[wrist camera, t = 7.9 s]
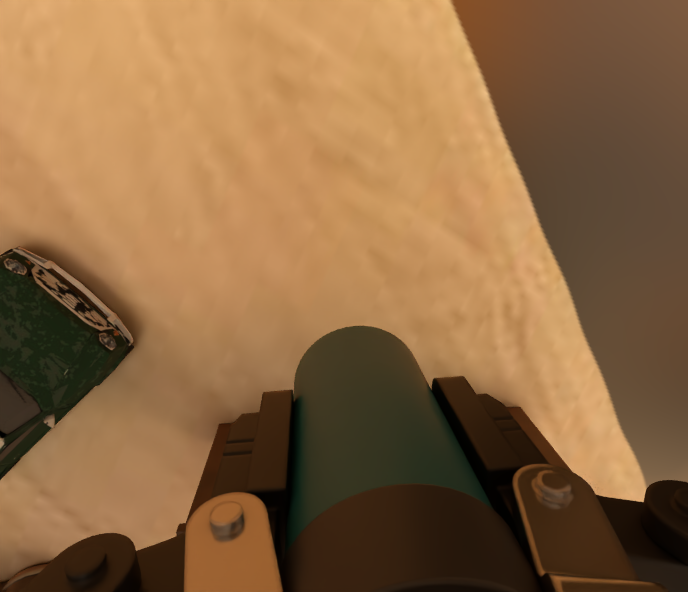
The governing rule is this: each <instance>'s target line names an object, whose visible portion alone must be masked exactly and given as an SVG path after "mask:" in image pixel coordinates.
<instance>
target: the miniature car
mask: <svg viewBox="0 0 688 592" xmlns="http://www.w3.org/2000/svg"><path fill="white" fill-rule="evenodd" d="M50 268H53V269H54V270H55V271H56V272H58V273H59V274H60V275H61V276H63V277H64V278H65V279H66V280H68V281H69V282H70V283H72V284H73V285H74V286H75V287H77V288H78V289H79V290H80V291H82V292H83V293H84V294H85V295H86V296H87V297H88V298H89V299H90V300H91V301H92V302H93V303H94V304H95V305H96V306H97V307H98V308H100V309H101V310H102V311H103V312H104V313H105V314H106V315H107V316H108V317H109V318H106V317H105V316H103V315H102V314H101V313H100V312H99V311H97V310H96V309H95V308H94V307H92V306H91V305H90V304H89V303H88V302H86V301H85V300H84V299H83V298H82V297H80V296H79V295H78V294H77V293H75V292H74V291H73V290H72V289H71V288H69V287H68V286H67V285H66V284H65V283H63V282H62V281H61V280H60V279H58V278H57V277H56V276H55V275H54V274H52V273H51V272H50V271H49V270H47V269H50ZM132 342H133V338H132V336H131V334H130V332H129V331H128V330H127V328H126V327H125V326H124V324H123V323H122V321H121V320H120V319H119V317H118V316H117V315H116V313H113V312H112V311H111V310H110V309H109V308H108V307H107V306H106V305H104V304H103V303H102V302H101V301H100V300H99V299H98V298H97V297H96V296H95V295H94V294H93V293H91V292H90V291H89V290H88V289H87V288H86V287H85V286H84V285H83V284H82V283H80V282H79V281H77V280H76V279H75V278H73V277H72V276H71V275H69V274H68V273H67V272H65V271H64V270H62V269H61V268H60V267H58V266H57V265H56V264H55V263H54V262H53V261H48V260H46V259H44V258H42V257H40V256H38V255H36V254H34V253H32V252H30V251H28V250H26V249H24V248H22V247H20V246H19V247H17V248H15V249H10V250H8V251H7V252H5V253H3V254H1V255H0V480H1V479H2V478H3V477H4V476H5V475H6V474H7V473H8V472H9V471H10V470H11V468H12V467H13V466H14V465H15V464H16V463H17V462H18V461H19V460H20V458H21V457H22V456H23V455H24V454H26V453H27V452H28V451H29V450H30V449H31V448H32V447H33V446H34V445H35V444H36V443H37V442H38V441H39V440H40V439H41V438H42V437H43V436H44V435H45V434H46V433H47V432H48V431H49V430H50V429H51V428H53V427H54V425H55V424H57V423H58V422H59V421H60V420H61V419H62V418H63V417H64V416H65V415H66V414H67V413H68V412H69V411H70V410H71V409H72V408H73V407H74V406H75V405H76V404H77V403H78V402H79V401H80V400H81V399H82V398H83V397H84V396H85V395H86V394H88V393H89V392H90V391H91V390H92V389H93V388H94V387H95V386H98V385H100V384H101V383H102V382H103V381H104V380H105V379H106V378H107V377H108V376H109V375H110V374H111V373H112V372H113V371H114V370H115V368H116V367H117V366H118V365H119V364H120V363H121V361H122V360H123V359H124V358H125V357H126V356H127V355H128V354H129V353H130V351H131V350H132V349H133V348H134V346H133V345H132Z"/></svg>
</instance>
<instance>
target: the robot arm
mask: <svg viewBox="0 0 688 592" xmlns="http://www.w3.org/2000/svg"><path fill="white" fill-rule="evenodd" d="M432 392H433V394H434V396H435V398H436V400H437V402H438V404H439V406H440V407H441V409H442V411H443V413H444V415H445V417H446V419H447V421H448V423H449V425H450V427H451V429H452V430H453V432H454V434H455V436H456V438H457V440H458V442H459V444H460V446H461V448H462V450H463V452H464V453H465V455H466V457H467V459H468V461H469V463H470V465H471V467H472V469H473V471H474V473H475V475H476V477H477V478H478V480H479V482H480V484H481V486H482V488H483V490H484V492H485V494H486V496H487V498H488V500H489V501H490V503H491V505H492V507H493V509H494V511H495V512H496V513H498V514H499V515H500V516H501V517H502V518H503V519H504V521H505V522H506V523H507V524H508V526H509V527H510V528H511V530H512V532H513V533H514V535H515V537H516V539H517V541H518V542H519V544H520V546H521V548H522V550H523V552H524V554H525V556H526V557H527V559H528V561H529V563H530V565H531V567H532V569H533V572H534V574H535V576H536V578H537V581H538V583H539V585H540V588H541V590H542V592H688V483H687V482H682V481H674V480H663V481H658V482H655V483H653V484H651V485H650V486H649V487H648V488H647V489H646V493H645V498H644V502H637V501H630V500H623V499H616V498H608V497H603V496H599V495H595V493H594V491H593V489H592V488H591V486H590V485H589V484H588V483H587V482H586V481H585V480H584V479H583V478H581V477H580V476H578V475H577V474H575V473H573V472H571V471H569V470H567V469H564V468H561V467H558V466H554V465H550V464H549V462H548V461H547V460H546V458H545V457H544V456H543V455H542V453H541V452H540V451H539V449H538V448H537V447H536V445H535V444H534V443H533V442H532V440H531V439H530V438H529V436H528V435H527V434H526V433H525V431H524V430H522V429H521V426H520V425H519V424H518V422H517V421H516V420H515V419H513V416H512V415H511V413H510V412H509V411H508V409H507V408H506V407H505V406H504V404H503V403H501V402H499V401H498V400H496V399H494V398H493V397H491V396H490V395H488V394H476V393H475V392H474V390H473V389H472V387H471V386H470V384H469V383H468V381H467V380H466V379H465V377H463V376H457V377H445V378H434V379H433V382H432ZM293 415H294V396H293V390H283V391H270V392H263V395H262V400H261V406H260V411H259V413H248V414H242V415H241V416H240V417H239V418H238V419H237V420H236V421H235V422H234V423H233V424H232V426H231V427H230V429H229V433H228V437H227V440H226V444H225V447H224V451H223V456H222V458H221V462H220V465H219V469H218V472H217V476H216V479H215V483H214V487H213V490H212V494H211V497H210V500H209V501H207V502H205V503H204V504H202V505H201V506H200V507H199V508H198V509H197V510H196V511H195V512H194V513H193V514H192V515H191V517H190V519H189V520H188V523H187V526H186V531H184V532H183V533H181V534H179V535H178V536H176V537H174V538H171V539H169V540H166V541H164V542H161V543H158V544H155V545H152V546H149V547H147V548H144V549H141V550H138V551H136V550H135V546H134V544H133V542H132V541H131V540H130V539H129V538H128V537H126V536H124V535H121V534H117V533H105V534H99V535H95V536H91V537H89V538H86V539H83V540H81V541H79V542H77V543H75V544H73V545H72V546H70V547H68V548H67V549H66V550H64V551H63V552H61V553H60V554H59V555H58V556H57V557H55V558H54V559H53V560H52V561H51V562H50V563H49V564H43V565H37V566H34V567H30V568H28V569H25V570H23V571H21V572H20V573H18V574H16V575H15V576H14V577H12V578H11V579H10V580H9V581H8V582H5V583H0V592H283V589H282V584H281V579H280V574H279V570H280V567H281V563H282V561H283V559H284V556H285V538H286V525H287V517H288V511H289V492H290V473H291V454H292V435H293Z"/></svg>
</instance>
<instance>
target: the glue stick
mask: <svg viewBox="0 0 688 592" xmlns="http://www.w3.org/2000/svg"><path fill="white" fill-rule="evenodd" d="M279 574H280V579H281V584H282V589H283V592H542V590H541V588H540V585H539V583H538V581H537V578H536V576H535V574H534V572H533V569H532V567H531V565H530V563H529V561H528V559H527V557H526V556H525V554H524V552H523V550H522V548H521V546H520V544H519V542H518V541H517V539H516V537H515V535H514V533H513V532H512V530H511V528H510V527H509V526H508V524H507V523H506V522H505V521H504V519H503V518H502V517H501V516H500V515H499V514H498V513H496V512H495V511H494V509H493V507H492V505H491V503H490V501H489V500H488V498H487V496H486V494H485V492H484V490H483V488H482V486H481V484H480V482H479V480H478V478H477V477H476V475H475V473H474V471H473V469H472V467H471V465H470V463H469V461H468V459H467V457H466V455H465V453H464V452H463V450H462V448H461V446H460V444H459V442H458V440H457V438H456V436H455V434H454V432H453V430H452V429H451V427H450V425H449V423H448V421H447V419H446V417H445V415H444V413H443V411H442V409H441V407H440V406H439V404H438V402H437V400H436V398H435V396H434V394H433V392H432V390H431V388H430V386H429V384H428V383H427V381H426V379H425V377H424V375H423V373H422V371H421V369H420V367H419V365H418V363H417V361H416V359H415V358H414V356H413V354H412V352H411V351H410V350H409V348H408V347H407V346H406V345H405V344H404V343H403V342H402V341H401V340H400V339H399V338H397V337H396V336H394V335H393V334H391V333H389V332H387V331H384V330H382V329H378V328H374V327H368V326H352V327H345V328H342V329H338V330H335V331H333V332H330V333H328V334H327V335H325V336H323V337H322V338H320V339H319V340H317V341H316V342H315V343H314V344H313V345H312V346H311V347H310V348H309V349H308V350H307V351H306V353H305V354H304V356H303V357H302V359H301V360H300V363H299V365H298V367H297V371H296V374H295V381H294V415H293V435H292V454H291V473H290V492H289V511H288V517H287V525H286V538H285V556H284V559H283V561H282V563H281V567H280V570H279Z"/></svg>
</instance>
